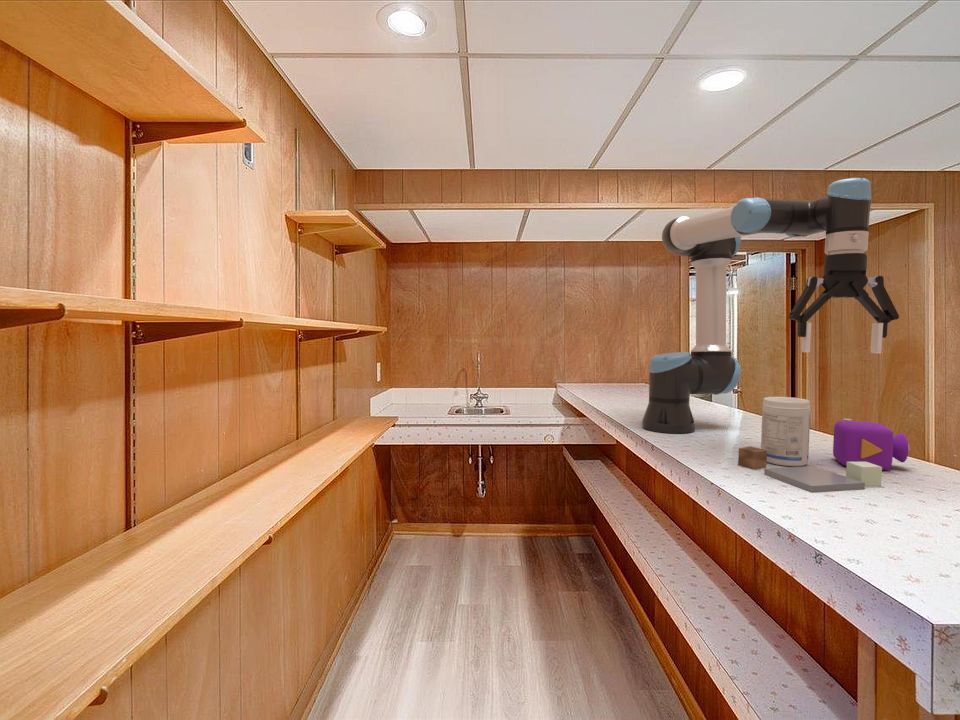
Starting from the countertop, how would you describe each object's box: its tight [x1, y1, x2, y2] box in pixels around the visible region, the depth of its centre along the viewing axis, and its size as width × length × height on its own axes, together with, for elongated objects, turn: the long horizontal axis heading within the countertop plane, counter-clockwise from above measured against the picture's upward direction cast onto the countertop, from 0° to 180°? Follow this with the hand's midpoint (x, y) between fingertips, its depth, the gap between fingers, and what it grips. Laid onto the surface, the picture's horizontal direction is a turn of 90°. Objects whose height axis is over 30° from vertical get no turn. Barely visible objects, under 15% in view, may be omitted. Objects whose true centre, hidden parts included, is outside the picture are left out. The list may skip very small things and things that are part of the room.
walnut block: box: [737, 445, 768, 471], centre depth 113 cm, size 4×4×4 cm
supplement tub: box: [760, 396, 811, 467], centre depth 117 cm, size 10×10×15 cm
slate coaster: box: [763, 465, 866, 493], centre depth 102 cm, size 12×12×1 cm
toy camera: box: [832, 418, 910, 471], centre depth 114 cm, size 11×14×10 cm
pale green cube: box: [845, 462, 883, 488], centre depth 101 cm, size 4×4×4 cm
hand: (840, 352), depth 110 cm, fingers open, 13 cm apart
